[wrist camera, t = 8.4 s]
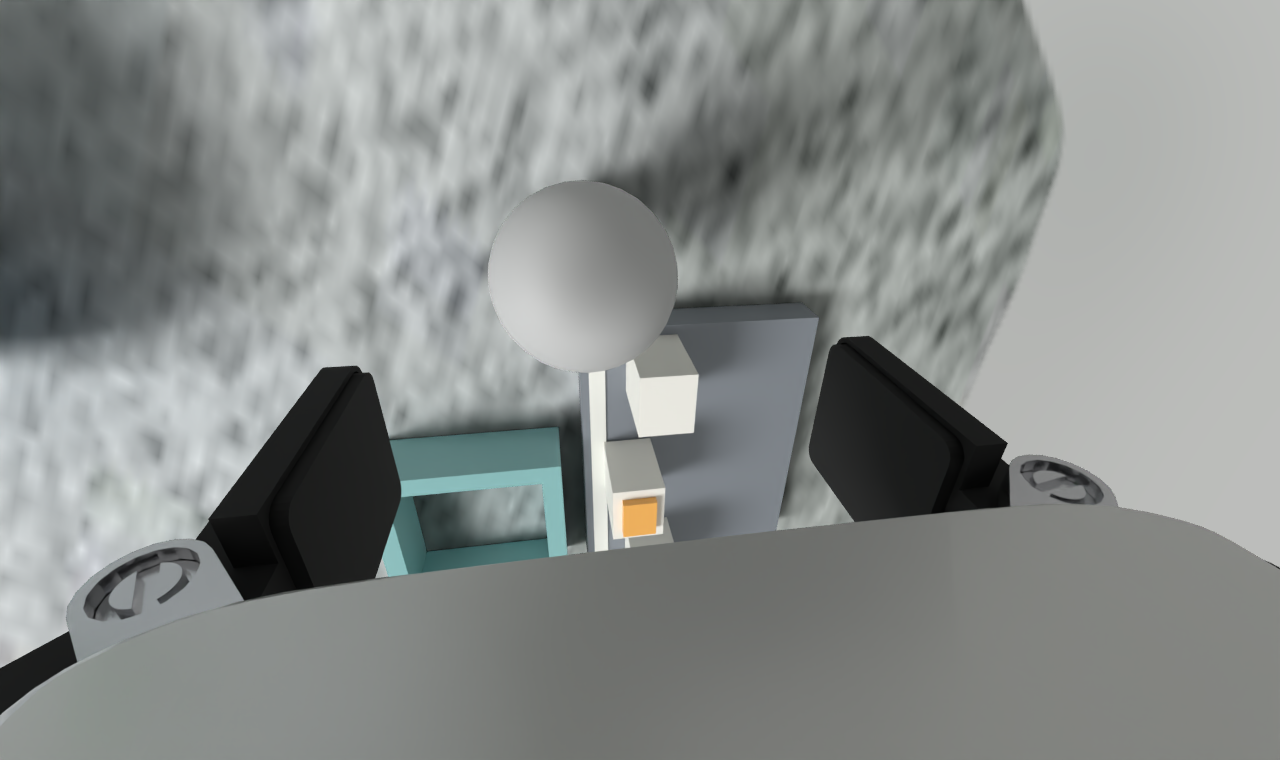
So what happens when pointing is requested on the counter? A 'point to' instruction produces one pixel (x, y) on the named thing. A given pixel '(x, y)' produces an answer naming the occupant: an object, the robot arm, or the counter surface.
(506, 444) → the socket
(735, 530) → the breaker panel
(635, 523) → the block
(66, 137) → the counter surface
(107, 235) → the counter surface
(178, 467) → the counter surface
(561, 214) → the lightbulb
